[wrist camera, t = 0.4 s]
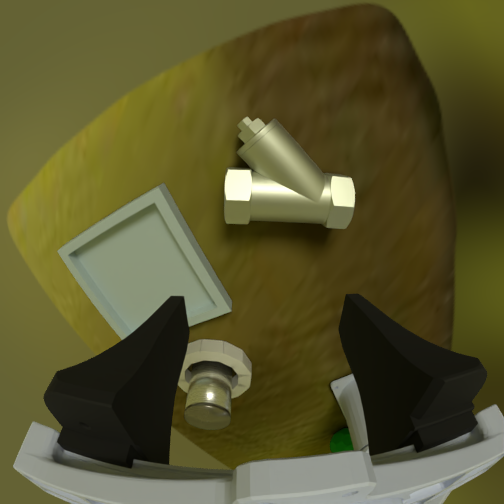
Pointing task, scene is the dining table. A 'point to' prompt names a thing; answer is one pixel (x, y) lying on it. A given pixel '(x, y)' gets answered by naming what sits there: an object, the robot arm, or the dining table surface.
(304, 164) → the pipe fitting
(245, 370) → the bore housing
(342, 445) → the polyhedron
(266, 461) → the robot arm
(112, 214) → the tray
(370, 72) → the dining table surface
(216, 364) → the metal cylinder
